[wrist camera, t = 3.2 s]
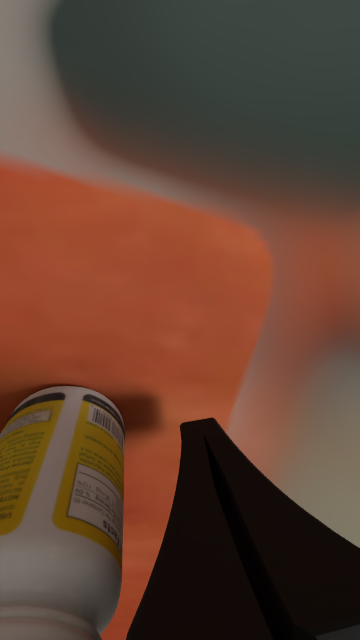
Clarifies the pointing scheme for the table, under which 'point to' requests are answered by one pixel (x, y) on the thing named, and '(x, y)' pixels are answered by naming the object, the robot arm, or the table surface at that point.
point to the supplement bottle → (61, 515)
